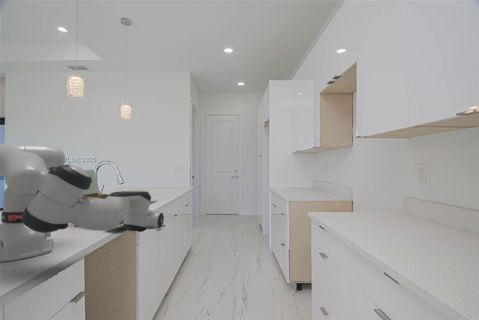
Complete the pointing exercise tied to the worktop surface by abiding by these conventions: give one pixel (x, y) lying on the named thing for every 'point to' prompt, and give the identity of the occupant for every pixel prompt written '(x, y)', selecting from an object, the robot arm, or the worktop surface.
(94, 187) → the lid
